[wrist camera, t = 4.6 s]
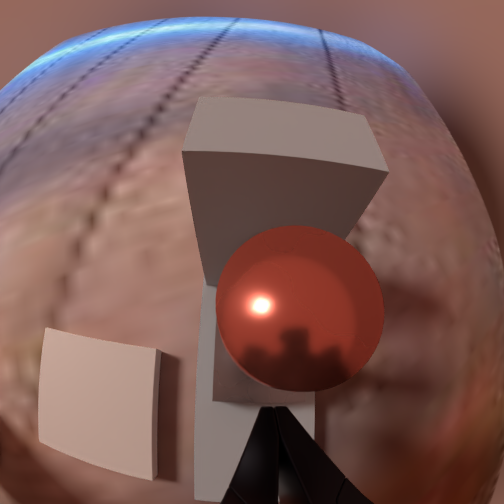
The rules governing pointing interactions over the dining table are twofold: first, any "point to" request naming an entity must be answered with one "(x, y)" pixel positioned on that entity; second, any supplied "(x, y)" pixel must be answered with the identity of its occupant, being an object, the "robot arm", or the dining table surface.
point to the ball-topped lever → (293, 316)
